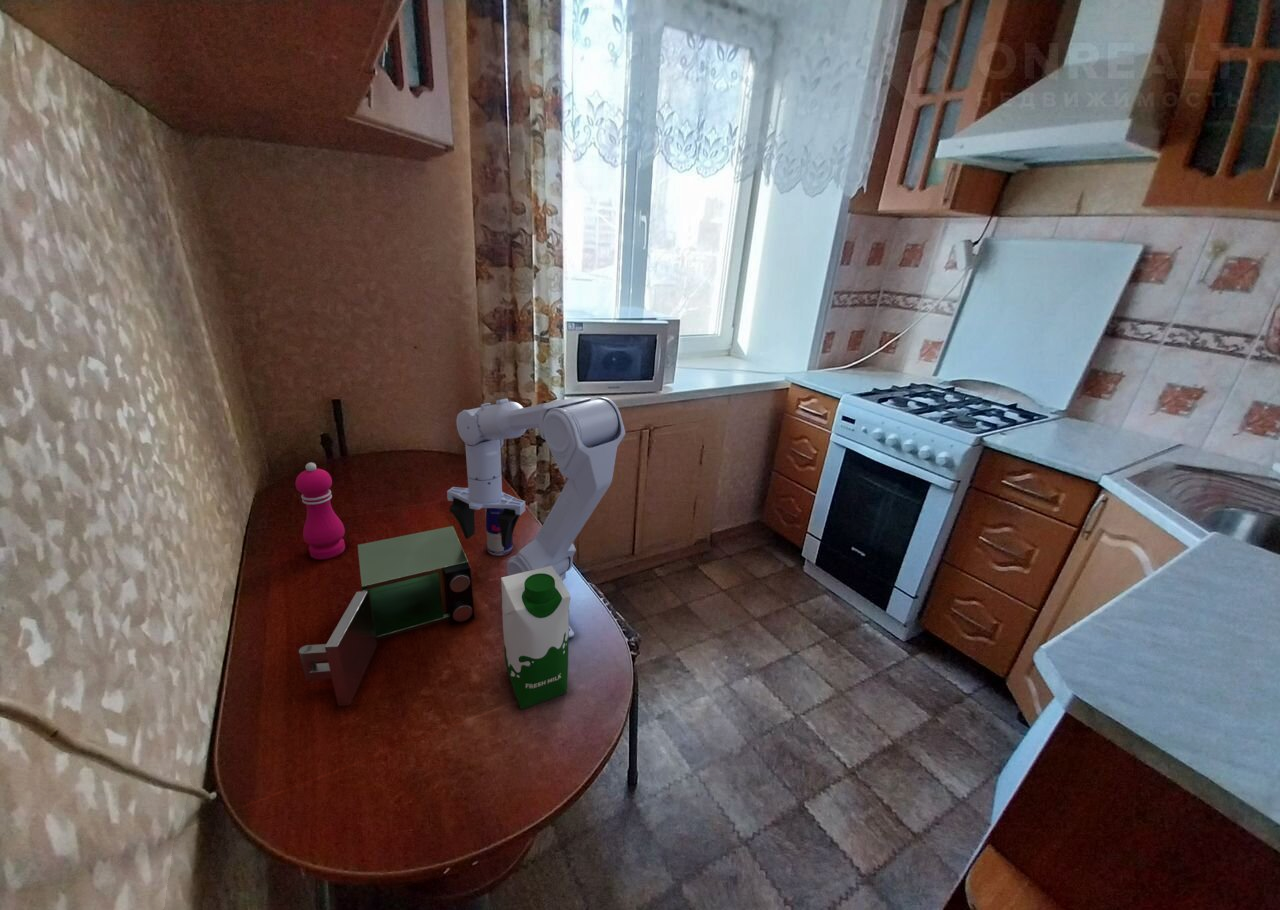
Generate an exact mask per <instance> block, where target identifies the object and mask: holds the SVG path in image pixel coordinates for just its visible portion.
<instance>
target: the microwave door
mask: <svg viewBox="0 0 1280 910" xmlns="http://www.w3.org/2000/svg"><path fill="white" fill-rule="evenodd" d="M377 647H378V643H377V640H376V636H375V630H374V625H373V619H372V613H371V608H370V602H369V596H368V591H362V590H361V591H355V594H354V595H353V597H352V599H351V600H350V603H349V604H348V606H347V608H346V609H345V611H344V613H343V615H342V616H341V618H340V619H339V621H338V623H337V625H336V626H335V628H334V630H333V631H332V634H331V635H330V637H329V639H328V641H327V643H321V644H320V643H319V644H307V645H303V646H301V647H300V648H299V649H298V654H299V658H300V662H301V666H302V671H303V674H304V678H305V681H308V682H312V681H326V680H331V681H332V684H333V690H334V694H335V699H336V703H337V706H338V707H347V706H351V705H352V703H353V701H354V698H355V696H356V694H357V691H358V689H359V688H360V685H361V683H362V680H363V678H364V676H365V673H366V672H367V669H368V667H369V665H370V663H371V660H372V657H373V655H374V653H375V650H376V649H377ZM318 662H320V663H318Z"/></svg>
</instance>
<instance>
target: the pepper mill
mask: <svg viewBox="0 0 1280 910" xmlns="http://www.w3.org/2000/svg"><path fill="white" fill-rule="evenodd" d="M332 485H333V478H332V476H331V474H330V473H329V471H326V470H324V469H322V468H317V465H316V463H315V462H308V463H306V465H305V470H303V471H301V472H300V473H299V474H298V475H297V476H296V478H295V488H296V490H297V492H299V493H301V495H300V497H301V499H302V500H301V502H302V503H303V504H304V505H305V507H306V519H305V522H304V525H303V530H302V537H303V541H304V542H305V544H307V545H308V551H309V555H310V557H311V558H312V559H314V560H328V559H332V558H335V557H337V556H339V555H341V554H342V553H343V552H344V551H345V550H346V544H345V540H344V536H345V533H346V529H345V526H344V523H343V521H342V520H341V519H340V518H339V516H338V515H337V514H336V513H335V511H334V509H333V508H332V504H331V503H332V502H331V499H332V498H333V495H332V491H331V489H330V488H331V487H332Z"/></svg>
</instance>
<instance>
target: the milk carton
mask: <svg viewBox="0 0 1280 910" xmlns="http://www.w3.org/2000/svg"><path fill="white" fill-rule="evenodd" d="M500 583H501V611H502V632H503V633H502V635H503V636H502V637H503V652H504V662H505V667H506V671H507V676H508V678H509V681H510V683H511V686H512V689H513V692H514V694H515V697H516V700H517V702H518V705H519V709H520V710H521V711H522V710H524V709H527V708H529V707H532V706H536V705H537V704H540V703H544V702H546V701H549V700H551V699H554V698H556V697H560V696H562V695H565V694H567V693H568V677H569V676H568V675H569V672H568V671H569V638H568V635H569V626H570V604H571V603H570V602H571V594H570V592H569V590H568V589H567V587H566V586H565V583H564V581H562V580H561V578H560V576H559V575H558V574H557V573H556V572H555V570H554V568H553V567H552V566H548V567H543V568H539V569H535V570H531V571H527V572H522V573H518V574H514V575H510V576H508V575H506V576H503V577H500Z"/></svg>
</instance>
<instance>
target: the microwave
mask: <svg viewBox="0 0 1280 910" xmlns="http://www.w3.org/2000/svg"><path fill="white" fill-rule="evenodd" d="M357 555H358V564H359V573H360V581H361V582H360V584H361V591H368V596H369V602H370V608H371V613H372V619H373V625H374V630H375V636H376V641H379V640H383V639H386V638H390V637H393V636H396V635H400V634H403V633H407V632H410V631H414V630H418V629H422V628H425V627H428V626H432V625H435V624H439V623H442V622H446V621H449V625H454V624H457V623H462V622H465V621H468V620H469V621H470V620H472V619H475V607H474V595H473V583H472V570H471V569H472V568H471V565H470V563H469V560H468V558H467V556H466V553H465V551H464V548H463V546H462V544H461V541H460V539H459V537H458V534H457V531H456V530H455V527H454V526H453V525H451V526H445V527H440V528H436V529H431V530H430V529H429V530H425V531H420V532H416V533H409V534H405V535H400V536H395V537H390V538H385V539H380V540H375V541H369V542H366V543H360V544H357Z"/></svg>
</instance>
